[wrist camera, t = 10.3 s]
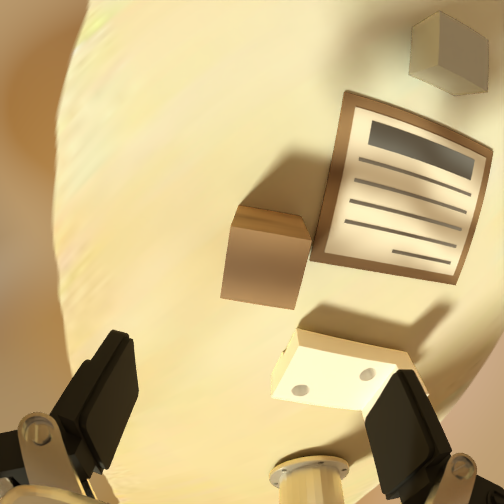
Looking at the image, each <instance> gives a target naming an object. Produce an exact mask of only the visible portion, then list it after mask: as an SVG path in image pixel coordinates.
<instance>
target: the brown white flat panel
mask: <svg viewBox="0 0 504 504" xmlns="http://www.w3.org/2000/svg"><path fill="white" fill-rule="evenodd" d="M492 157H493V151H492V150H490V149H488V148H486V147H484V146H482V145H481V144H479V143H477V142H475V141H473V140H471V139H469V138H467V137H465V136H463V135H461V134H458V133H456V132H454V131H452V130H450V129H448V128H445V127H443V126H441V125H439V124H436V123H434V122H432V121H429V120H427V119H424V118H422V117H419V116H417V115H414V114H412V113H409V112H406V111H404V110H401V109H398V108H395V107H392V106H389V105H387V104H384V103H381V102H378V101H374V100H371V99H368V98H365V97H361V96H358V95H355V94H351V93H347V92H344V95H343V101H342V107H341V113H340V118H339V124H338V130H337V135H336V140H335V146H334V151H333V156H332V161H331V166H330V171H329V176H328V181H327V185H326V190H325V195H324V199H323V204H322V208H321V213H320V217H319V222H318V226H317V230H316V234H315V239H314V243H313V247H312V251H311V255H310V259H309V260H310V261H314V262H320V263H326V264H332V265H338V266H344V267H350V268H356V269H362V270H368V271H374V272H380V273H386V274H392V275H398V276H404V277H410V278H416V279H422V280H428V281H434V282H440V283H446V284H452V285H456V283H457V281H458V278H459V275H460V273H461V270H462V267H463V265H464V262H465V259H466V256H467V254H468V251H469V248H470V245H471V242H472V238H473V235H474V232H475V229H476V225H477V222H478V218H479V215H480V211H481V207H482V204H483V200H484V195H485V191H486V187H487V182H488V178H489V173H490V168H491V162H492Z"/></svg>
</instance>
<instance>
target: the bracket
mask: <svg viewBox="0 0 504 504" xmlns="http://www.w3.org/2000/svg"><path fill="white" fill-rule="evenodd" d="M399 369H412V370H414V372H415V373H416V375H417V377H418V379H419V381H420V383H421V385H422V387H423V389H424V391H425V393H426V395H427V397H428V396H429V393H428V391H427V389H426V387H425V385H424V383H423V381H422V379H421V377H420V376H419V374H418V372H417V370H416V368H415V366H414V364H413V362H412V361H411V359H410V357H409V355H408V353H407V352H405V351H399V350H394V349H389V348H384V347H379V346H374V345H369V344H364V343H360V342H355V341H350V340H346V339H341V338H337V337H332V336H328V335H324V334H319V333H315V332H311V331H307V330H303V329H299V328H296V330H295V332H294V334H293V336H292V338H291V340H290V342H289V344H288V346H287V349H286V351H285V352H284V351H283V352H282V354H281V356H280V358H279V360H278V362H277V364H276V366H275V368H274V370H273V372H272V374H271V397H272V398H277V399H282V400H287V401H293V402H299V403H305V404H312V405H319V406H326V407H333V408H342V409H351V410H361V411H362V415H363V418H364V422H365V419H366V416H367V415H368V413H369V412H370V410H371V409H372V407H373V406H374V404H375V402H376V401H377V399H378V398H379V396H380V394H381V393H382V391H383V389H384V388H385V386H386V384H387V383H388V381H389V379H390V378H391V376H392V375H393V374H394V373H396V371H397V370H399Z"/></svg>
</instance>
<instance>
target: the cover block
mask: <svg viewBox="0 0 504 504" xmlns="http://www.w3.org/2000/svg"><path fill="white" fill-rule="evenodd" d="M488 68H489V49H488V39H486V38H485V37H483V36H482V35H480V34H479V33H477V32H476V31H474V30H472V29H471V28H469V27H467V26H466V25H464V24H463V23H461V22H459V21H457V20H456V19H454V18H452V17H450V16H448V15H447V14H445V13H443V12H441V11H438V12H436V13H435V14H433V15H431V16H430V17H428V18H426V19H425V20H423V21H422V22H420V23H418V24H417V25H415V26H414V27H412V40H411V54H410V65H409V74H408V75H410V76H412V77H415V78H417V79H419V80H422V81H424V82H426V83H429V84H431V85H433V86H435V87H437V88H439V89H441V90H444V91H446V92H448V93H450V94H452V95H454V96H457V95H466V94H475V93H485V92H488Z"/></svg>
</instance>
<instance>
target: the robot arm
mask: <svg viewBox="0 0 504 504" xmlns="http://www.w3.org/2000/svg"><path fill="white" fill-rule="evenodd" d="M138 393H139V388H138V380H137V372H136V363H135V353H134V342H133V339H131V338H129V335H128V334H127V333H124V332H120V331H116V330H111V331H110V333H109V334H108V336H107V337H106V338H105V340H104V341H103V343H102V344H101V346H100V347H99V349H98V350H97V352H96V353H95V355H94V356H93V358H92V359H91V360H88V359H87V360H85V361H84V362H83V363H82V365H81V366H80V368H79V369H78V371H77V372H76V374H75V375H74V377H73V378H72V380H71V381H70V383H69V384H68V386H67V387H66V389H65V391H64V392H63V394H62V395H61V397H60V399H59V400H58V402H57V403H56V405H55V406H54V408H53V410H52V411H51V413H50V415H48V414H45V413H41V412H33V413H31V414H28V415H26V416H25V417H23V418H22V420H21V421H20V423H19V425H18V430H14V431H10V432H5V433H0V499H1V500H0V504H109V503H106V502H103V501H99V500H98V499H97V497H96V495H95V493H94V491H93V489H92V487H91V484H90V482H89V480H88V479H90V478H91V475H92V473H93V472H96V473H98V474H101V475H102V472H103V470H104V469H106V470H107V469H109V467H110V465H111V462H112V460H113V457H114V454H115V452H116V449H117V447H118V444H119V442H120V439H121V437H122V434H123V432H124V429H125V427H126V424H127V422H128V419H129V417H130V414H131V412H132V410H133V407H134V405H135V402H136V400H137V397H138ZM365 427H366V431H367V434H368V438H369V442H370V446H371V449H372V453H373V457H374V461H375V465H376V469H377V473H378V477H379V482H380V486H381V490H382V493H383V494H386V499H387V500H390V499H395V498H399V497H400V499H401V503H400V504H504V489H503V488H502V487H500V486H498V485H496V484H494V483H492V482H490V481H488V480H486V479H484V478H482V477H480V476H478V475H476V474H477V466H476V463H475V462H474V460H473V459H472V458H471V457H470V456H469V455H467V454H464V453H456V454H454V455H453V456H451V455H450V453H451V452H452V449H451V447H450V444H449V442H448V440H447V438H446V436H445V433H444V431H443V429H442V427H441V424H440V422H439V420H438V418H437V416H436V414H435V412H434V409H433V407H432V405H431V403H430V401H429V399H428V397H427V395H426V393H425V391H424V389H423V387H422V385H421V383H420V381H419V379H418V377H417V375H416V373H415V372H414V370H412V369H399V370H397V371H396V373H394V374H393V375H392V376H391V378H390V379H389V381H388V383H387V384H386V386H385V388H384V389H383V391H382V393H381V394H380V396H379V398H378V399H377V401H376V402H375V404H374V406H373V407H372V409H371V410H370V412H369V413H368V415H367V416H366V419H365ZM348 473H349V465H348V463H347V462H346V461H345V460H344V459H342V458H339V457H335V456H323V455H319V456H308V457H301V458H296V459H293V460H289V461H286V462H284V463H281V464H280V465H278V466H276V467H275V468H273V469H272V470H271V472H270V474H269V481H270V483H271V484H272V485H273V486H275V487H277V488H279V504H344V497H343V491H342V484H341V480H342V479H343V478H345V477H346V476H347V474H348Z"/></svg>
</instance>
